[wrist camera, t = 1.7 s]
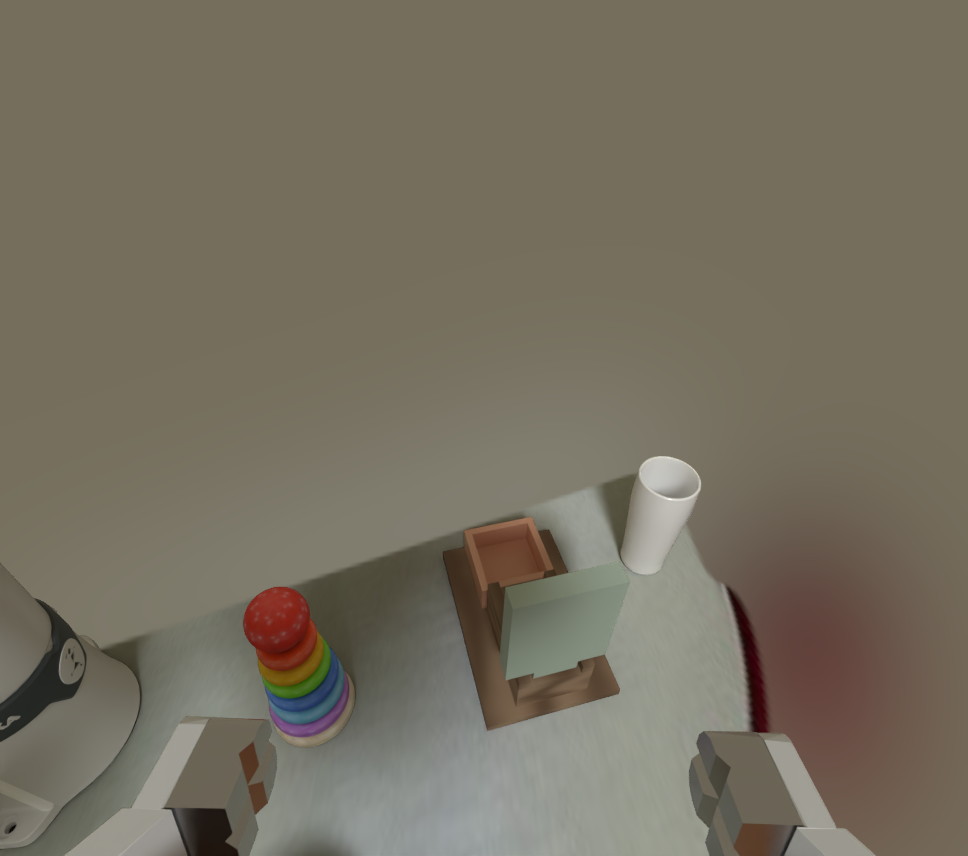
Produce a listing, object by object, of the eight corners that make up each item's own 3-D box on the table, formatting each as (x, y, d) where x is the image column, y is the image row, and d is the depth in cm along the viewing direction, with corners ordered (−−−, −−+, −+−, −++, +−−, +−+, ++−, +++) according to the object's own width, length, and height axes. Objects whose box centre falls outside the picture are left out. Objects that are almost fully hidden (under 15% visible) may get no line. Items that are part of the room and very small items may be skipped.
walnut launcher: (487, 730, 54) (488, 704, 50) (443, 556, 69) (441, 525, 65) (618, 693, 57) (630, 665, 53) (548, 534, 72) (553, 503, 68)
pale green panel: (504, 686, 52) (512, 609, 43) (499, 665, 53) (505, 587, 44) (602, 660, 54) (630, 581, 45) (594, 641, 55) (619, 561, 46)
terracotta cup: (481, 608, 63) (482, 591, 60) (464, 548, 69) (464, 530, 66) (553, 591, 64) (556, 574, 62) (529, 534, 71) (531, 516, 68)
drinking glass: (605, 541, 71) (628, 458, 61) (654, 534, 72) (684, 451, 62) (625, 586, 66) (653, 504, 56) (677, 578, 67) (714, 496, 57)
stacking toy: (371, 683, 57) (344, 581, 45) (328, 764, 51) (283, 672, 39) (305, 656, 59) (262, 551, 47) (257, 731, 53) (194, 634, 41)
